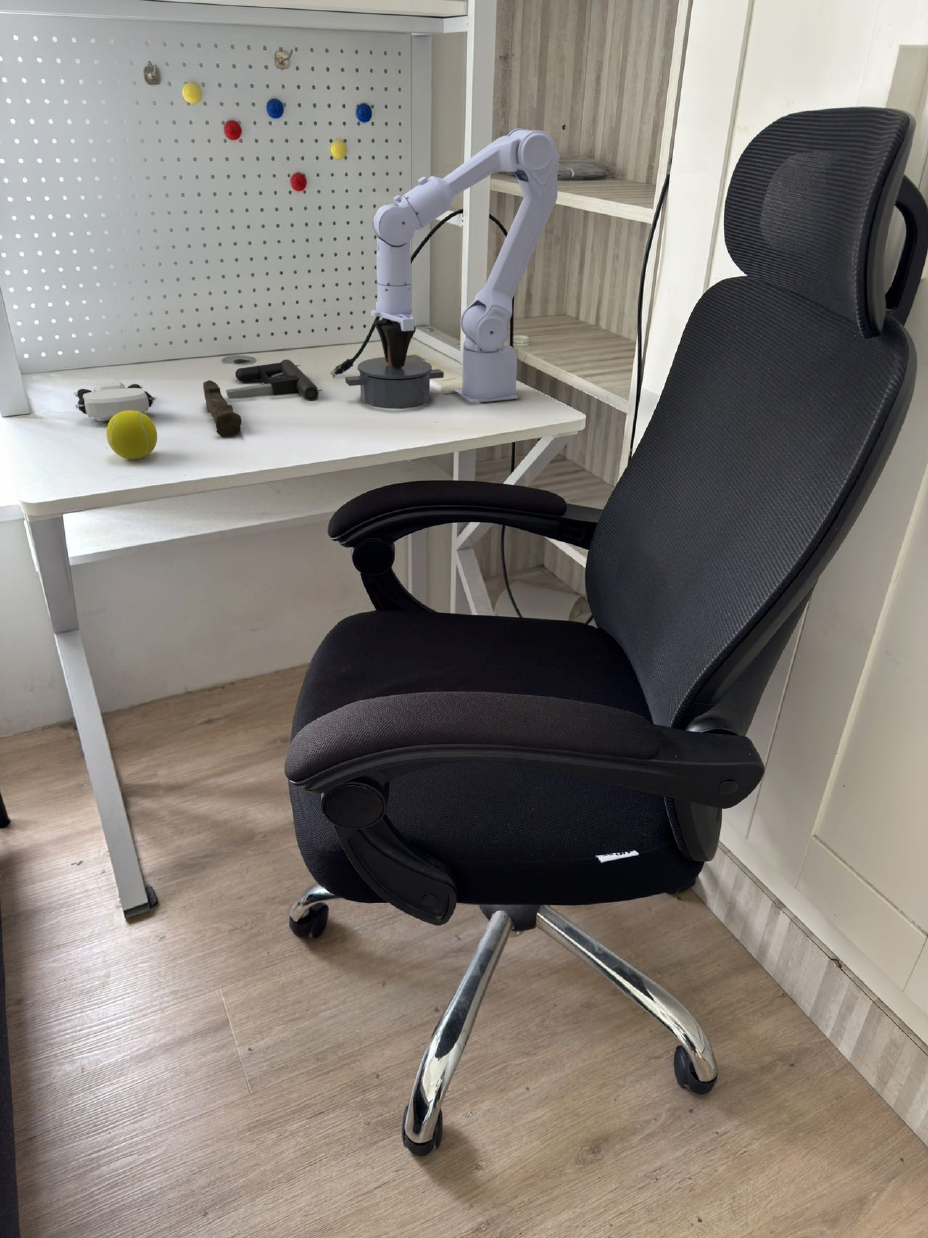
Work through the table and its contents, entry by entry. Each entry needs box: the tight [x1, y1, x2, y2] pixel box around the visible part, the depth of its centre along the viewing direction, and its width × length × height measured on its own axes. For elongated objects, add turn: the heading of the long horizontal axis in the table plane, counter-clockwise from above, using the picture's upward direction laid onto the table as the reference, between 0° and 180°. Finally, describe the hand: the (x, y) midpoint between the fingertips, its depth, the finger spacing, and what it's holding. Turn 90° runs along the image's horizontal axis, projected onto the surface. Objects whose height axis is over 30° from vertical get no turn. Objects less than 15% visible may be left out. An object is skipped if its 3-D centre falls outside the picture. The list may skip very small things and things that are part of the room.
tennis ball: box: [106, 410, 158, 460], centre depth 134 cm, size 7×7×7 cm
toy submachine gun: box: [225, 359, 322, 402], centre depth 167 cm, size 3×20×16 cm
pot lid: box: [357, 348, 433, 379], centre depth 160 cm, size 13×13×5 cm
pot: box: [344, 368, 445, 410], centre depth 162 cm, size 12×18×6 cm
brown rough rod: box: [202, 380, 242, 438], centre depth 151 cm, size 19×4×5 cm, turn 21°
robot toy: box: [73, 381, 158, 422], centre depth 153 cm, size 12×4×15 cm
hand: (395, 364), depth 160 cm, fingers closed on pot lid, 2 cm apart
